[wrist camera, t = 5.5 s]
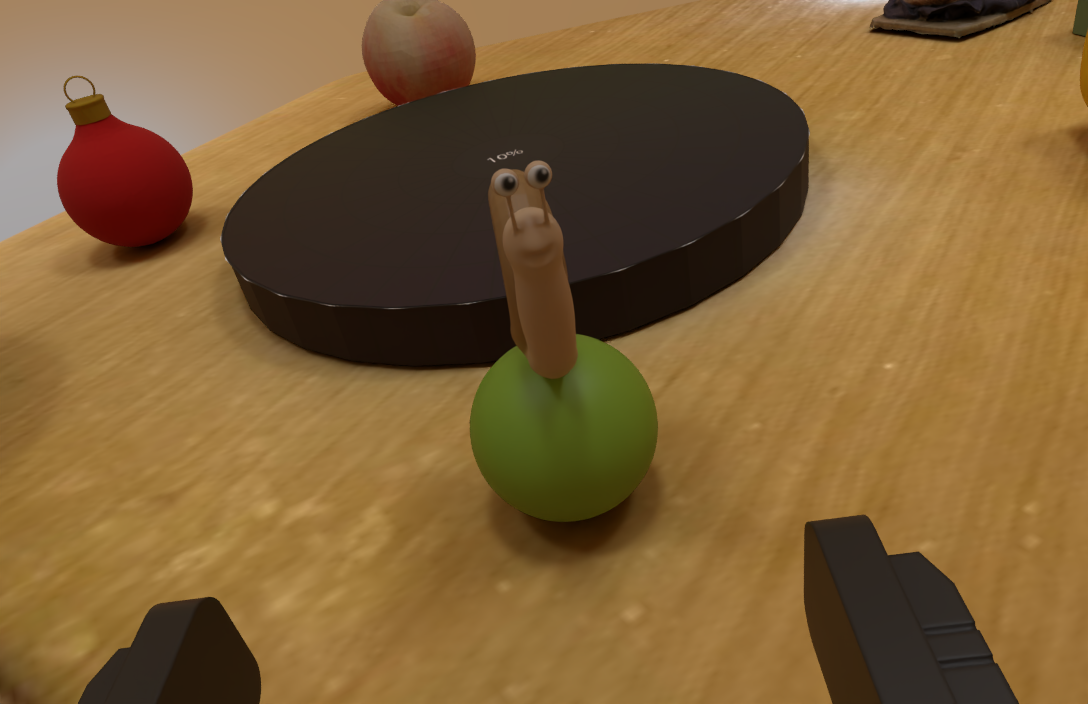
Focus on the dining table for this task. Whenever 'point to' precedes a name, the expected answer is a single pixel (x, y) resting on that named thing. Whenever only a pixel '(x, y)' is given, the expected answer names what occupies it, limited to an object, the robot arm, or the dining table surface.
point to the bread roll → (950, 15)
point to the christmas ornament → (121, 178)
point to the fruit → (417, 49)
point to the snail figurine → (554, 379)
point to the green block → (1081, 18)
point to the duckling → (1084, 71)
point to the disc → (573, 196)
